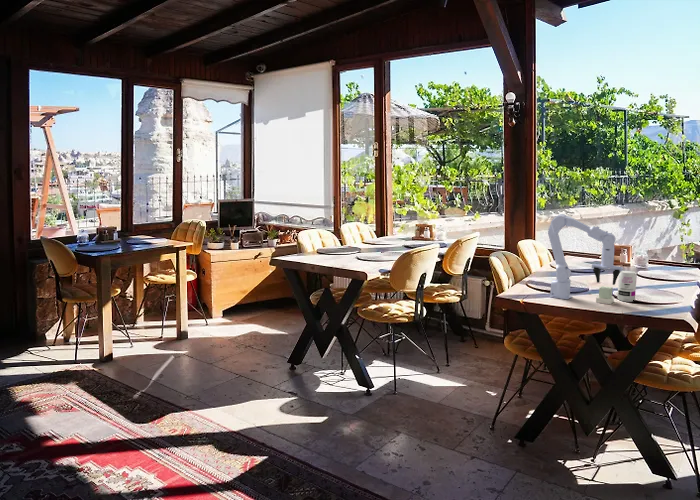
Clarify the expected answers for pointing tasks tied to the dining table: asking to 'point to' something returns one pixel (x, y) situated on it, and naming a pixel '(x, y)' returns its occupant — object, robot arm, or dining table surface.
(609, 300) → the cream box
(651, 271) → the dining table surface
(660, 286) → the dining table surface
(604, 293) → the green cube
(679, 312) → the dining table surface
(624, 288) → the supplement can
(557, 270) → the robot arm
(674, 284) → the dining table surface
